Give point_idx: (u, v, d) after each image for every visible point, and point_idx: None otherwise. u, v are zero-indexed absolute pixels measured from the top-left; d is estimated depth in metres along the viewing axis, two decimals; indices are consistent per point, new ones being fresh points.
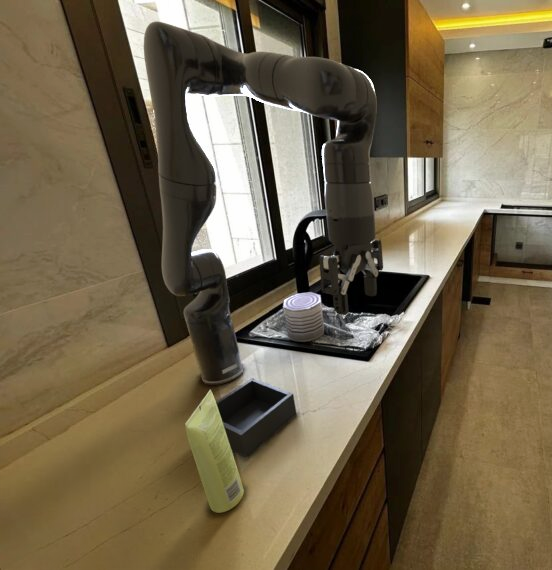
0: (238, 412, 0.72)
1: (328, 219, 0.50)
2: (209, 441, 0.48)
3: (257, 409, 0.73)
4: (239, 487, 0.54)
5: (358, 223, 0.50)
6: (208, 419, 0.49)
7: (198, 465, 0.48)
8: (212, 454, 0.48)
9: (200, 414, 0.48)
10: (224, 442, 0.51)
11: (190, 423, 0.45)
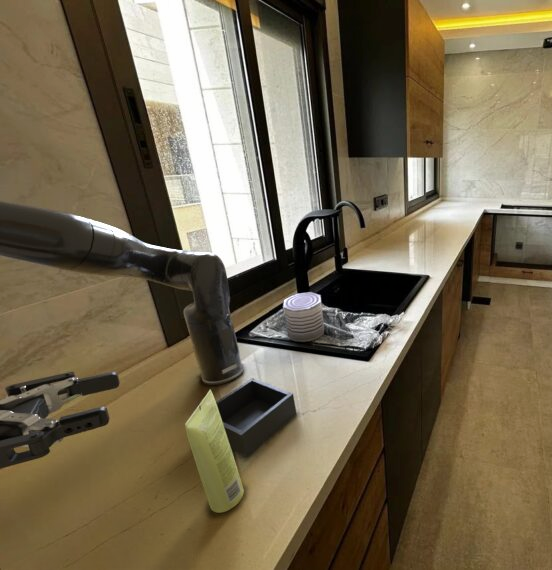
0: (238, 412, 0.72)
1: None
2: (209, 441, 0.48)
3: (257, 409, 0.73)
4: (239, 487, 0.54)
5: None
6: (208, 419, 0.49)
7: (198, 465, 0.48)
8: (212, 454, 0.48)
9: (200, 414, 0.48)
10: (224, 442, 0.51)
11: (190, 423, 0.45)
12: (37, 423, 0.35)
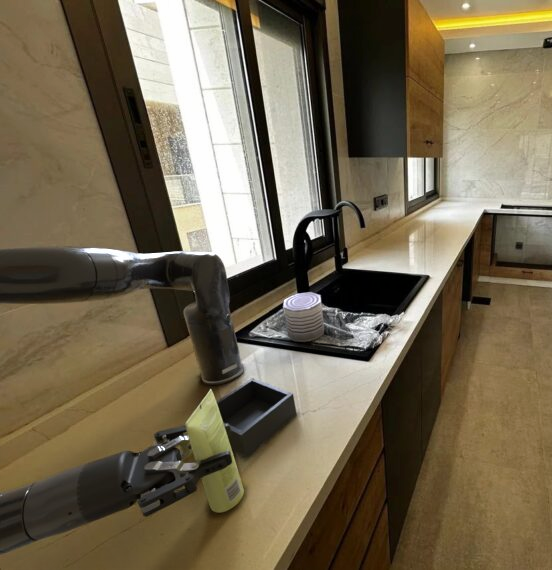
0: (238, 412, 0.72)
1: None
2: (210, 441, 0.48)
3: (257, 409, 0.73)
4: (239, 486, 0.54)
5: None
6: (209, 419, 0.49)
7: None
8: (213, 453, 0.48)
9: (201, 413, 0.48)
10: (224, 441, 0.51)
11: (191, 422, 0.45)
12: (185, 467, 0.46)
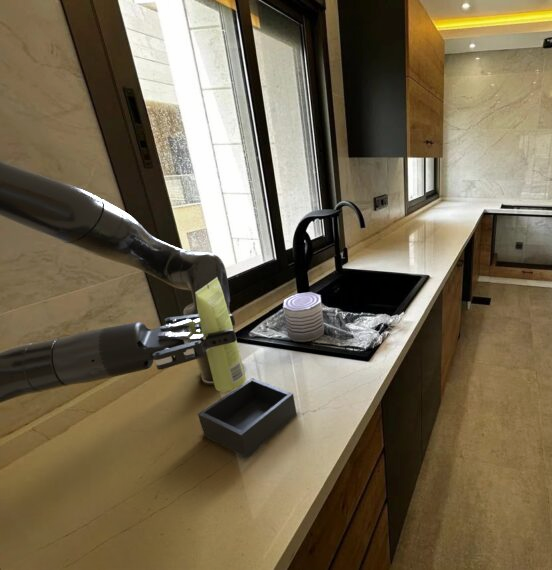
0: (238, 412, 0.72)
1: None
2: (216, 317, 0.53)
3: (257, 409, 0.73)
4: (242, 371, 0.59)
5: None
6: (215, 299, 0.54)
7: None
8: (219, 329, 0.54)
9: (208, 292, 0.53)
10: (229, 324, 0.56)
11: (199, 294, 0.51)
12: (194, 337, 0.52)
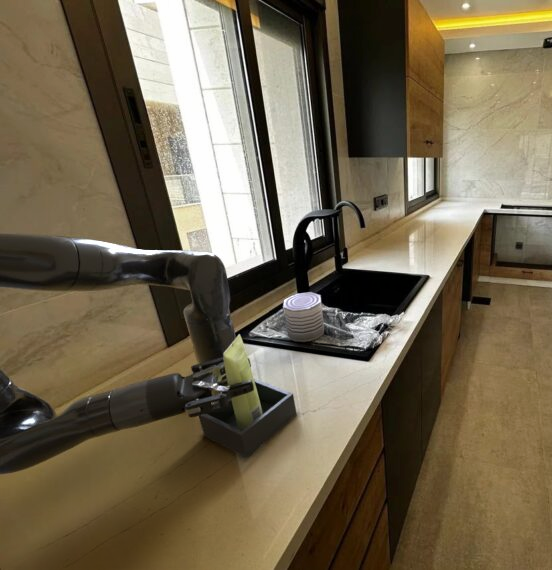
0: None
1: None
2: (240, 370, 0.62)
3: None
4: (261, 413, 0.68)
5: None
6: (239, 355, 0.63)
7: None
8: (242, 381, 0.63)
9: (233, 349, 0.62)
10: (250, 375, 0.66)
11: (226, 354, 0.60)
12: (219, 388, 0.60)
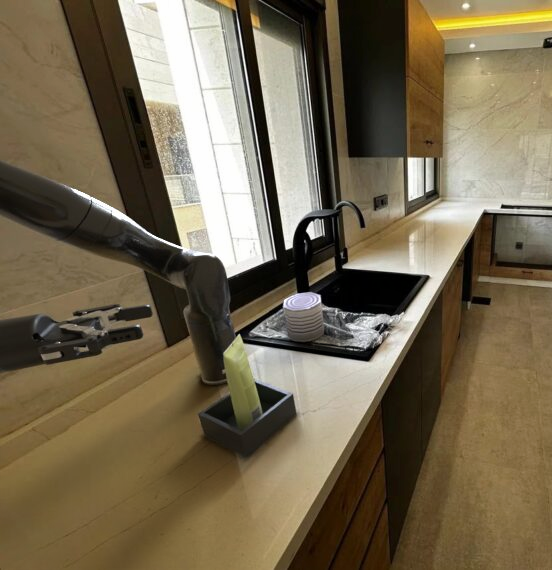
0: None
1: None
2: (240, 370, 0.62)
3: None
4: (261, 413, 0.68)
5: None
6: (239, 355, 0.63)
7: (231, 389, 0.63)
8: (242, 381, 0.63)
9: (233, 349, 0.62)
10: (250, 374, 0.66)
11: (226, 354, 0.60)
12: (93, 332, 0.48)
